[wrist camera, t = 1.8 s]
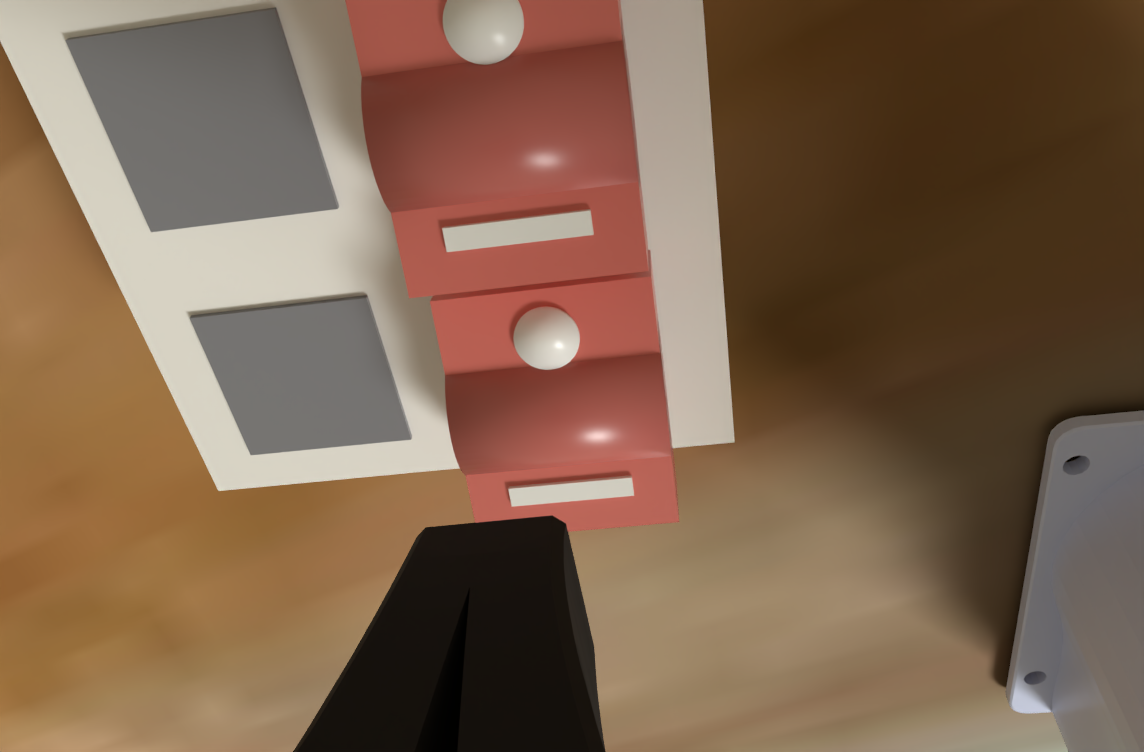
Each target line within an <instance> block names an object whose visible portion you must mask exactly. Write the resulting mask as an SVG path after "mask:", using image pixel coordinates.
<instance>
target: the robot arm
mask: <svg viewBox="0 0 1144 752" xmlns="http://www.w3.org/2000/svg"><path fill="white" fill-rule="evenodd" d="M1078 455H1079V456H1080V457H1078V458H1077V459H1076V460H1074V461H1070V462H1065V461H1067V460H1068V459H1070V458H1071V457H1074V456H1078ZM1006 697H1007V700H1008V703H1009V705H1010V707H1011V708H1012V709H1013V710H1014V711H1017V712H1020V713H1044V712H1053V714H1054V717H1055V719H1056V722H1057V724H1058V727H1059V729H1060V732H1061V734H1062V737H1063V739H1064V742H1065V744H1066V747H1067V749H1068V752H1144V411H1133V412H1122V413H1112V414H1101V415H1090V416H1080V417H1074V418H1070V419H1066V420H1064V421H1063V422H1061V423H1059V424H1057V425H1056V426H1055V427H1054V428H1053V429H1052V430H1051V432H1050V435H1049V437H1048V442H1047V448H1046V454H1045V460H1044V466H1043V472H1042V477H1041V483H1040V489H1039V495H1038V501H1037V507H1036V513H1035V519H1034V525H1033V531H1032V537H1031V543H1030V549H1029V555H1028V561H1027V567H1026V573H1025V579H1024V585H1023V591H1022V597H1021V603H1020V609H1019V615H1018V621H1017V627H1016V633H1015V639H1014V644H1013V650H1012V656H1011V662H1010V668H1009V674H1008V680H1007V686H1006ZM293 752H605V746H604V740H603V733H602V726H601V718H600V710H599V702H598V694H597V683H596V669H595V654H594V645H593V640H592V636H591V631H590V627H589V623H588V618H587V614H586V609H585V605H584V601H583V596H582V592H581V587H580V583H579V579H578V574H577V570H576V565H575V561H574V557H573V552H572V548H571V543H570V539H569V535H568V530H567V526H566V523H564V522H563V521H561V520H559V519H558V518H556V517H554V516H553V515H550V516H540V517H530V518H519V519H509V520H499V521H488V522H478V523H468V524H457V525H447V526H437V527H426V528H425V529H424V530H423V531H422V532H421V533H420V534H419V535H418V537H417V538H416V540H415V542H414V544H413V546H412V547H411V549H410V551H409V553H408V555H407V557H406V559H405V561H404V563H403V565H402V567H401V568H400V570H399V572H398V574H397V576H396V578H395V580H394V582H393V583H392V585H391V587H390V589H389V591H388V593H387V595H386V596H385V598H384V600H383V602H382V604H381V605H380V607H379V609H378V611H377V613H376V614H375V616H374V618H373V620H372V622H371V623H370V625H369V627H368V629H367V630H366V632H365V634H364V636H363V637H362V639H361V641H360V643H359V644H358V646H357V648H356V650H355V652H354V653H353V655H352V657H351V658H350V660H349V662H348V663H347V665H346V667H345V668H344V670H343V672H342V673H341V675H340V677H339V678H338V680H337V682H336V683H335V685H334V686H333V688H332V690H331V691H330V693H329V695H328V696H327V698H326V700H325V701H324V703H323V705H322V706H321V708H320V710H319V711H318V713H317V715H316V716H315V718H314V720H313V721H312V723H311V724H310V726H309V728H308V729H307V731H306V732H305V734H304V736H303V737H302V739H301V740H300V742H299V743H298V745H297V747H296V748H295V750H294V751H293Z"/></svg>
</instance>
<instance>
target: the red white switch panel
mask: <svg viewBox="0 0 1144 752" xmlns="http://www.w3.org/2000/svg"><path fill="white" fill-rule="evenodd" d="M620 2H621V11H622V20H623V28H624V36H625V43H626V51H627V58H628V66H629V75H630V83H631V92H632V101H633V110H634V119H635V129H636V139H637V150H638V161H639V169H640V178H641V187H642V196H643V205H644V213H645V222H646V231H647V240H648V250H650V251H651V260H652V269H653V278H654V287H655V295H656V304H657V313H658V322H659V328H660V336H661V344H662V352H663V361H664V370H665V379H666V389H667V399H668V409H669V420H670V428H671V437H672V446H673V448H679V447H689V446H700V445H710V444H721V443H732V442H735V441H734V427H733V414H732V400H731V386H730V372H729V358H728V344H727V330H726V316H725V302H724V288H723V275H722V261H721V247H720V233H719V219H718V205H717V191H716V177H715V163H714V150H713V136H712V122H711V108H710V94H709V80H708V66H707V52H706V38H705V24H704V11H703V0H620ZM0 42H1V44H2V46H3V48H4V50H5V52H6V54H7V56H8V58H9V60H10V62H11V64H12V66H13V68H14V71H15V73H16V75H17V77H18V79H19V81H20V83H21V85H22V87H23V89H24V91H25V93H26V95H27V97H28V99H29V101H30V104H31V106H32V108H33V110H34V112H35V114H36V116H37V118H38V120H39V122H40V124H41V126H42V128H43V130H44V132H45V134H46V136H47V139H48V141H49V143H50V145H51V147H52V149H53V151H54V153H55V155H56V157H57V159H58V161H59V163H60V165H61V167H62V169H63V172H64V174H65V176H66V178H67V180H68V182H69V184H70V186H71V188H72V190H73V192H74V194H75V196H76V198H77V200H78V202H79V204H80V207H81V209H82V211H83V213H84V215H85V217H86V219H87V221H88V223H89V225H90V227H91V229H92V231H93V233H94V235H95V237H96V239H97V242H98V244H99V246H100V248H101V250H102V252H103V254H104V256H105V258H106V260H107V262H108V264H109V266H110V268H111V270H112V272H113V275H114V277H115V279H116V281H117V283H118V285H119V287H120V289H121V291H122V293H123V295H124V297H125V299H126V301H127V303H128V305H129V307H130V310H131V312H132V314H133V316H134V318H135V320H136V322H137V324H138V326H139V328H140V330H141V332H142V334H143V336H144V338H145V340H146V343H147V345H148V347H149V349H150V351H151V353H152V355H153V357H154V359H155V361H156V363H157V365H158V367H159V369H160V371H161V373H162V375H163V378H164V380H165V382H166V384H167V386H168V388H169V390H170V392H171V394H172V396H173V398H174V400H175V402H176V404H177V406H178V408H179V411H180V413H181V415H182V417H183V419H184V421H185V423H186V425H187V427H188V429H189V431H190V433H191V435H192V437H193V439H194V441H195V443H196V446H197V448H198V450H199V452H200V454H201V456H202V458H203V460H204V462H205V464H206V466H207V468H208V470H209V472H210V474H211V476H212V478H213V481H214V483H215V485H216V487H217V489H218V491H223V490H233V489H244V488H255V487H265V486H276V485H286V484H297V483H308V482H318V481H329V480H339V479H350V478H361V477H371V476H382V475H392V474H403V473H414V472H424V471H435V470H445V469H456V468H460V467H459V465H458V463H457V460H456V457H455V454H454V451H453V447H452V442H451V438H450V433H449V427H448V420H447V411H446V399H445V373H444V368H443V363H442V358H441V353H440V349H439V344H438V339H437V334H436V329H435V324H434V320H433V315H432V310H431V305H430V300H431V298H432V297H433V296H426V297H417V298H409V295H408V291H407V286H406V281H405V277H404V272H403V267H402V263H401V258H400V253H399V249H398V244H397V239H396V235H395V230H394V226H393V221H392V216H391V212H390V211H389V210H388V208H387V206H386V205H385V203H384V201H383V199H382V196H381V194H380V192H379V189H378V186H377V183H376V180H375V177H374V174H373V170H372V167H371V163H370V159H369V155H368V150H367V145H366V139H365V133H364V126H363V118H362V106H361V79H362V76H361V72H360V67H359V62H358V58H357V53H356V48H355V44H354V39H353V34H352V30H351V25H350V20H349V16H348V11H347V6H346V2H345V0H0Z"/></svg>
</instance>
